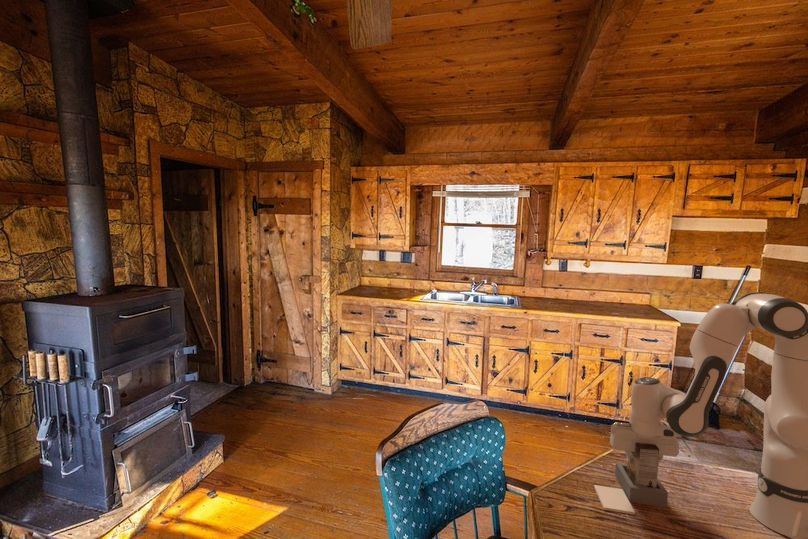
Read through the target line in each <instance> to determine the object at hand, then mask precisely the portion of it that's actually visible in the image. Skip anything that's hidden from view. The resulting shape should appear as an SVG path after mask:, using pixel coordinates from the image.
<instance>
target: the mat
mask: <svg viewBox="0 0 808 539" xmlns="http://www.w3.org/2000/svg"><path fill="white" fill-rule="evenodd" d="M593 485H594V486H593V489H594V491H595V492H596V496H597V498H598V500H599V502H600V505H601V507H602V509H603V510H604V511H610V512H618V513H621V514H629V515H634V516H635V514H636V512H635V510H634V508H633V506H632V504H631V502H629V500H628V498H627V496H626V495H625V493H624V491H623V489H622V488H618V487H617V488H616V487H612V486H611V487H610V486H603V485H597V484H593Z"/></svg>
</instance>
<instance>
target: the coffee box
mask: <svg viewBox="0 0 808 539" xmlns="http://www.w3.org/2000/svg"><path fill="white" fill-rule="evenodd" d="M628 455H629V456H632V458H633V463H628V462H627V463H626V464H627V475H628V477H629V478H630V480H631V482H632V483H633V485H636V486H643V487H650V488H657V478H658V472H659V466H658V460H659V448H658V447H657V446H656V445H655V444H647V443H636V444H635V452H631V451H630V454H628Z"/></svg>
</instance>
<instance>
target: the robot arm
mask: <svg viewBox="0 0 808 539" xmlns="http://www.w3.org/2000/svg"><path fill="white" fill-rule="evenodd" d="M756 329H758V330H761V331H765V332H768V333H770V334H773V337H774V343H775V344H774V347H773V356H772V357H773V358H772V365H771V366H772V367H771V374H770V380H771V381H770V382H771V394H770V395H769V396H768V397H767V399H766V400H765V403H764V408H763V409H764V410H763V411H764V412H763V444H762V445H763V446H762V448H763V449H762V457H761V467H760V468H759V470H758V475H757V476H758V477H757V490H756V494H755V497H754V499H753V501H752V503H751V505H750V506H749V512H750V514H751V515H752V517H754V519H755V520H757V521H758V522H759V523H760V524H762V525H763V526H766V527H767V528H769V529H770V530H772V531H774V532H776V533H779V534H781V535H784V536H786V537H788V538H790V539H808V310H807V309H806V307H805V306H803V305H802V304H800V303H799V302H798V301H795V300H793V299H791V298H787V297H784V296H781V295H777V294H772V293H771V294H770V293H765V292H750V293H746V294H743V295H741V296H740V297H739V298H738V299H736V300H734V301H733V302H730V303H717V304H715V305H714V306H711V308H710V309H709V310H708V312H707V313H706V314H705V316H703V317H702V319H701V320H700V323H699V324H698V325H697V327H696V329H695V331H694V333H693V335H692V337H691V339H690V344H689V351H690V354H691V356H692V360H693V363H694V368H695V369H694V370H695V372H694V376H693V379H692V381H691V383H690V385H689V388H688V390H687V392H686V393H685V392H684V391H682V390H679V389H675V388H673V387H670V386H668V385H666V384H665V383H663V382H662V381H661V380H660V379H658V378H653V377H650V376H649V377H647V376H644V377H640V378H637V379H636V380H635V381H634V382H633V384H632V388H631V395H630V403H631V409H630V412H629V423H628V422H619V421H616V422H614V423H612V424H611V425H610V437H609V444H610V445H611V448H613V449H614V450H615V451H623V452H624V454H625V455H626V462H627V463H633V458H632V456H629V455H628V454H630V451H631V452H635V444H636V443H647V444H655V445H656V446H657V447H658V448H659V460H658V467H659V465H660V462H661V461H662V460H663V458H664V456H666V457H678V456H679V455H680V442H679V439H678V438H677V437H678V435H680V436H682V437H686V438H694V437H699V436H701V435H703V434H704V433H705V432H706V431H707V430H708V428H709V420H710V419H709V418H710V417H709V416H710V415H709V414H710V410H711V408H712V405H713V403H714V400H715V399H716V397H717V395H718V393H719V390H720V388H721V385H722V383H723V381H724V378H725V377H726V373H727V371H728V367H729V365H730V364H731V361H732V359H733V357H734V355H735V353H736V352H737V350H738V349H739V346H740V345H741V343H742V341H743V339H744V337H745V336H746V335H747V334H749V332H751V331H753V330H756ZM662 419H666V421H664V420H662Z"/></svg>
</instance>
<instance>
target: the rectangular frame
mask: <svg viewBox="0 0 808 539" xmlns="http://www.w3.org/2000/svg"><path fill="white" fill-rule="evenodd" d="M614 476H615V478H616V480H617V481H618V484H619V485H620V487H621V489H623V491H624V493H625V495H626V497H627V499H628V500H629V502H630V503H636V504H642V505H650V506H655V507H660V508H667V507H668V496H669V493H668V491H667V490H666V488H665V486H664V485H663V483H661V481H660V480H659V478H658V477H657V488H650V487H643V486H636V485H633V483H632V482H631V480H630V478H629V477H628V475H627V463H623V462H617V461H616V462H615V472H614Z"/></svg>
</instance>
